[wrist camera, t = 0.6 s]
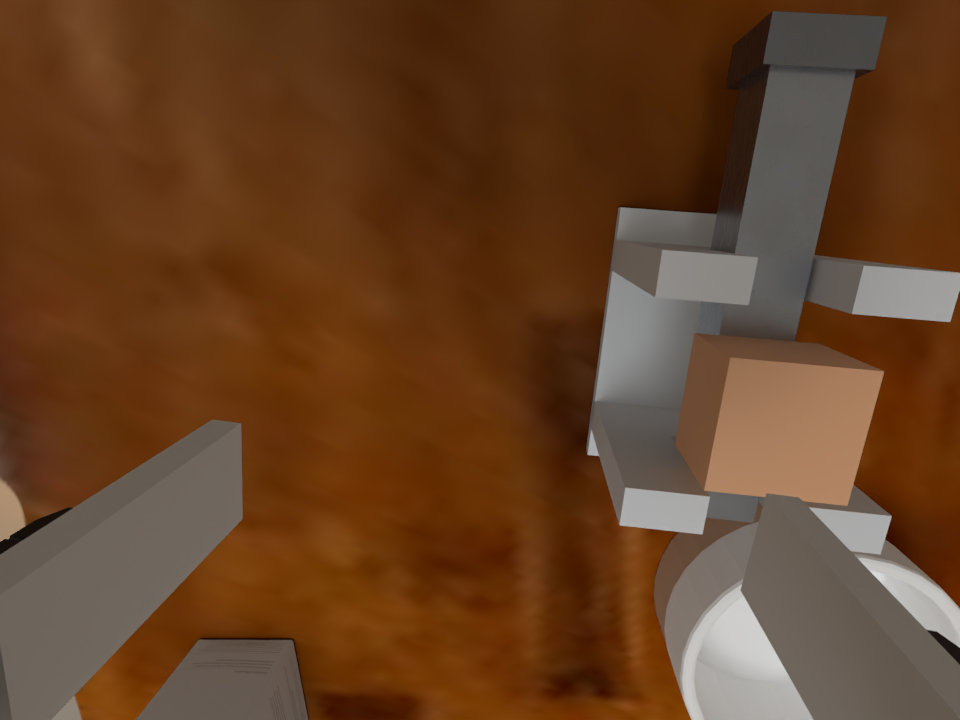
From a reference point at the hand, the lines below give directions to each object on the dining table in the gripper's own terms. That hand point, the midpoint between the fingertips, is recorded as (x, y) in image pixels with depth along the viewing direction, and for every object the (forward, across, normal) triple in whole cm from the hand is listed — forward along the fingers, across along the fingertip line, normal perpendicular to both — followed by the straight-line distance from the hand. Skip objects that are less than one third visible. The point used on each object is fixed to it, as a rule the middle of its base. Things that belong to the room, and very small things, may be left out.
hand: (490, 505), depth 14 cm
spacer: (+15, +12, -1) cm, 19 cm away
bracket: (+25, +12, 0) cm, 28 cm away
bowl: (+25, +22, -18) cm, 38 cm away
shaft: (+19, +12, +4) cm, 23 cm away
